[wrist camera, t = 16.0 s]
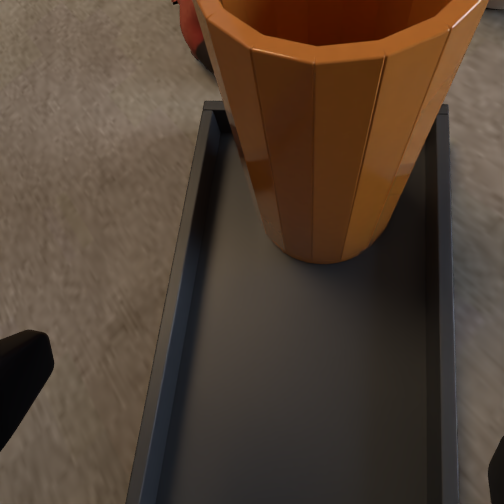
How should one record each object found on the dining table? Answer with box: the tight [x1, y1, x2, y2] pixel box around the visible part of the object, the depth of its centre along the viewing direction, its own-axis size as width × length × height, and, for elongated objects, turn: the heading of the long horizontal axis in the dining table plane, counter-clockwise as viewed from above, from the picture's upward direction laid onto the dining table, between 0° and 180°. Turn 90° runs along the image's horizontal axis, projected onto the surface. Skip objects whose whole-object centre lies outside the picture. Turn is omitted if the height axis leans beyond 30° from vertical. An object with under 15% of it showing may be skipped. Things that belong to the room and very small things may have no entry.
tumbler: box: [192, 0, 489, 264], centre depth 15 cm, size 7×7×13 cm
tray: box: [125, 101, 459, 504], centre depth 18 cm, size 27×12×3 cm, turn 173°
